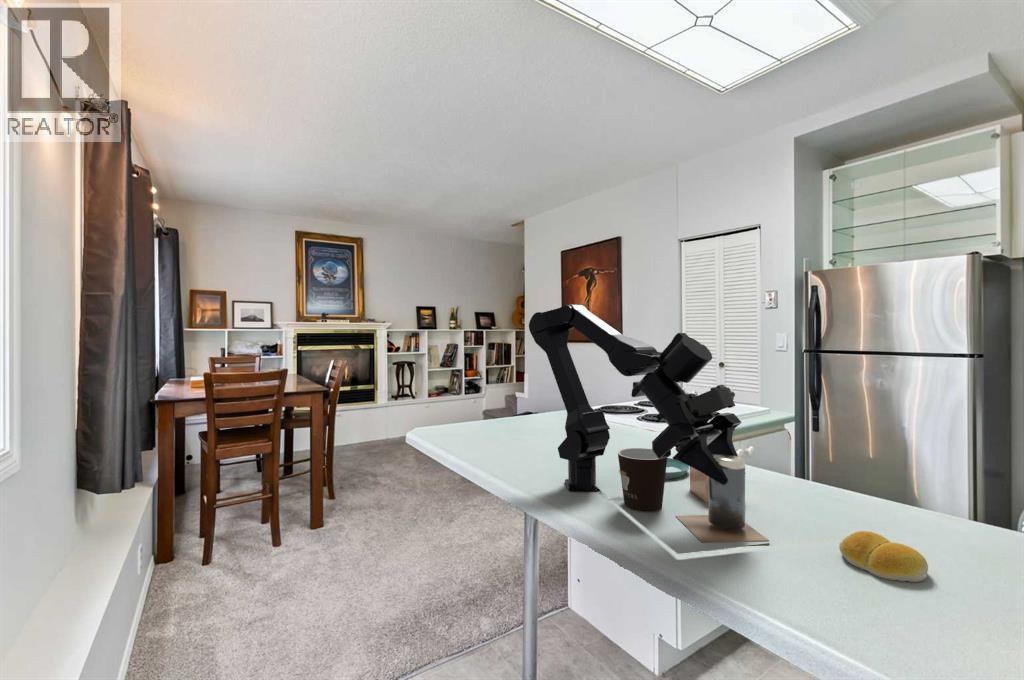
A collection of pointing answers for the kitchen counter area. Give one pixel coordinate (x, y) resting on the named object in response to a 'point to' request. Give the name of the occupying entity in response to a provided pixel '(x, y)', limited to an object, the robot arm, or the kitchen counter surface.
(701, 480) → the planter
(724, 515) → the tea tin
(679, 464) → the saucer
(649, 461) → the brown coffee cup
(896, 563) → the bread roll
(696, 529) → the coaster
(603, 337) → the robot arm
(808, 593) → the kitchen counter surface
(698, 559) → the kitchen counter surface
